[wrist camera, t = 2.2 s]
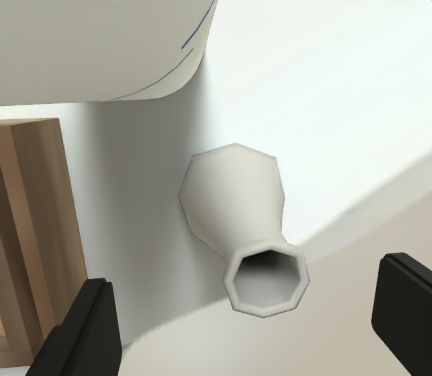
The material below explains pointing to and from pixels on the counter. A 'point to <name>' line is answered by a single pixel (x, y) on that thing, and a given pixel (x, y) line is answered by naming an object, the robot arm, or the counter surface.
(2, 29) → the cylindrical container
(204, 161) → the flask
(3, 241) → the tray
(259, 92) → the counter surface
